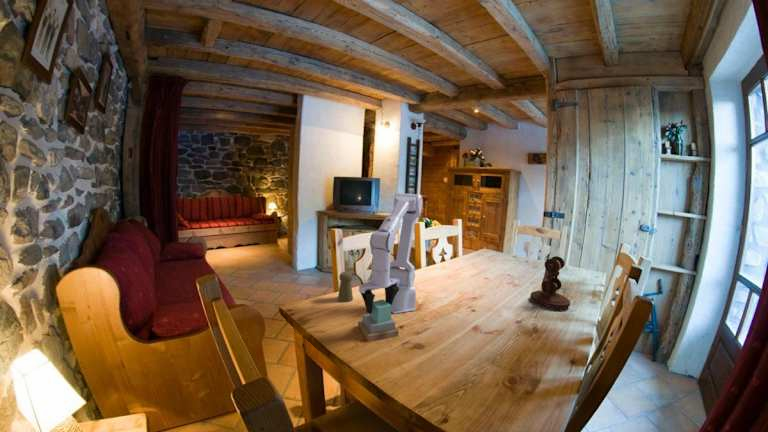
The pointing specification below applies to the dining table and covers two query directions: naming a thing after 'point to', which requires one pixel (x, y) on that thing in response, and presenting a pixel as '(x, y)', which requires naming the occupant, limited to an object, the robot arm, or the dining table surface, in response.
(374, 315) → the teal cube
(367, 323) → the grey block
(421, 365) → the dining table surface
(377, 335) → the walnut block
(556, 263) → the dark brown carved statue
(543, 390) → the dining table surface
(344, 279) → the olive upright rounded piece
